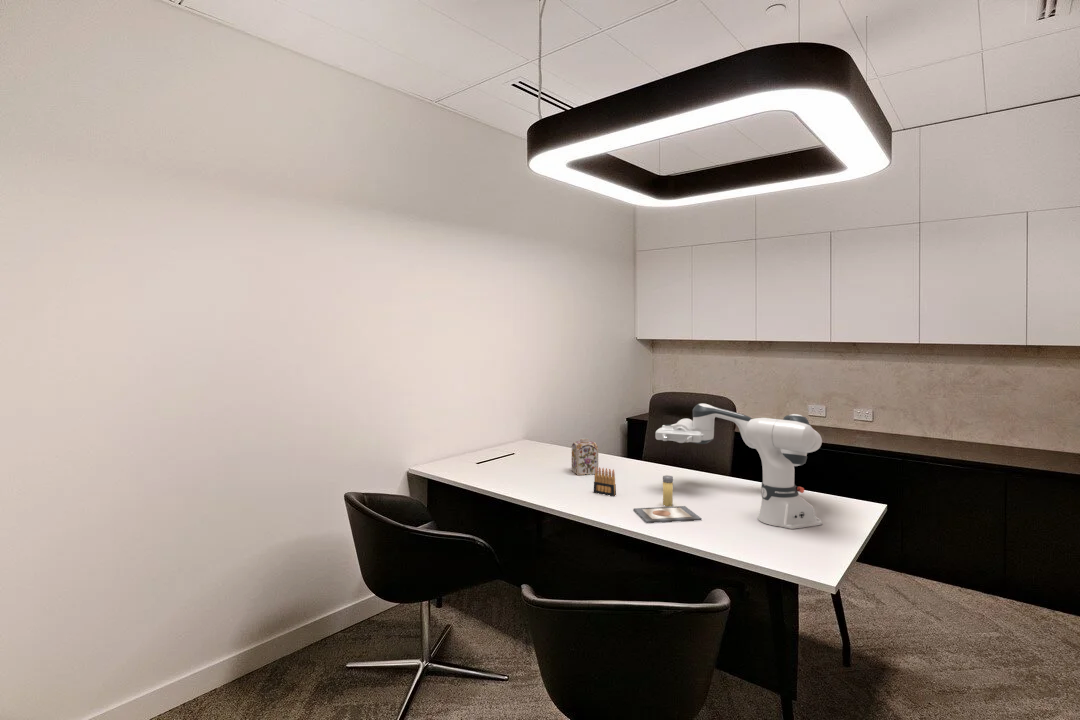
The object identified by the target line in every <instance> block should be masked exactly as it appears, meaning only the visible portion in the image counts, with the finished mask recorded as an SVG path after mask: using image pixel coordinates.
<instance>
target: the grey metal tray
mask: <svg viewBox="0 0 1080 720" xmlns="http://www.w3.org/2000/svg"><path fill="white" fill-rule="evenodd" d="M632 509H633V512H634V513H635V514H636V515H637V516H638V517H639V518H640V519H642V521H643V522H644V523H645V524H655V523H654V522H662V523H673V522H672V521H681V522H695V521H694V520H701V521H702V518H701V517H700V516H699V515H697V513H695V512H694V511H692V510H691V509H690V508H688V507H687V506H686V505H679V506H677V505H675V506H659V507H658V506H657V507H655V506H654V507H637V508H635V507H634V508H632Z"/></svg>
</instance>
